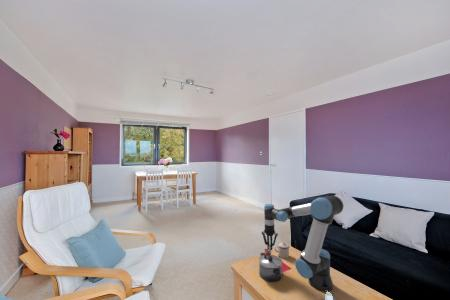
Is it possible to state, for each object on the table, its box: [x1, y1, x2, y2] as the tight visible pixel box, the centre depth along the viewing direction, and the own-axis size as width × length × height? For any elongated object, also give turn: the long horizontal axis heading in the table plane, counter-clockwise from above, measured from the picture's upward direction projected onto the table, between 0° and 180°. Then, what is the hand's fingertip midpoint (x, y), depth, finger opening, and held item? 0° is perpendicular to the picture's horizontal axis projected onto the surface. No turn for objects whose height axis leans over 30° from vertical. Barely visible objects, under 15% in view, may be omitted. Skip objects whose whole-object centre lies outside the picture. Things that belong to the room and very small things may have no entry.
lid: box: [258, 248, 283, 269], centre depth 150 cm, size 23×17×4 cm
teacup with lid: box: [274, 241, 290, 259], centre depth 174 cm, size 12×9×12 cm
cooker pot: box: [258, 252, 283, 283], centre depth 149 cm, size 26×16×9 cm, turn 12°
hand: (270, 253), depth 159 cm, fingers closed
